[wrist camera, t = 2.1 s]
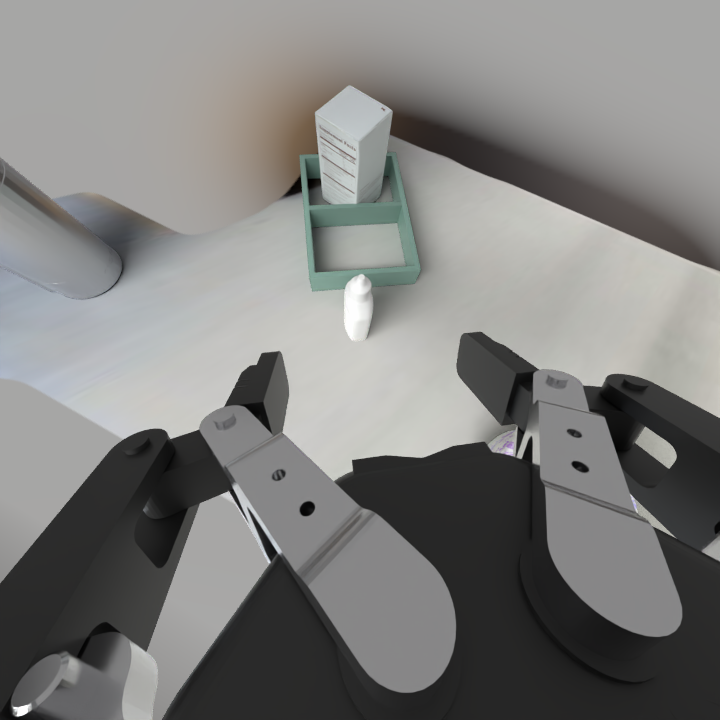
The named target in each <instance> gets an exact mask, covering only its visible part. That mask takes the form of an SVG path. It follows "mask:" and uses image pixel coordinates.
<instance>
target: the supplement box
mask: <svg viewBox="0 0 720 720" xmlns="http://www.w3.org/2000/svg"><path fill="white" fill-rule="evenodd" d="M392 113H393V112H392V110H391V109H389V108H388V107H386V106H385V105H383V104H381V103H380V102H378V101H376V100H374V99H373V98H371V97H369V96H367V95H366V94H364V93H362V92H361V91H359V90H357V89H356V88H354V87H352V86H350V85H349V86H347V87H346V88H345V89H344V90H343V91H341V92H340V93H339V94H338V95H336V96H335V97H334V98H333V99H331V100H330V101H329V102H328V103H326V104H325V105H324V106H323V107H321V108H320V109H319V110H317V111H316V112H315V119H316V130H317V141H318V153H319V163H320V174H321V185H322V196H323V199H325V200H326V201H327V202H329V203H330V204H358V203H373V202H374V201H375V200H376V199H377V198H378V197H379V196H380V195H381V188H382V181H383V174H384V168H385V161H386V154H387V147H388V140H389V134H390V126H391V120H392Z"/></svg>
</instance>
